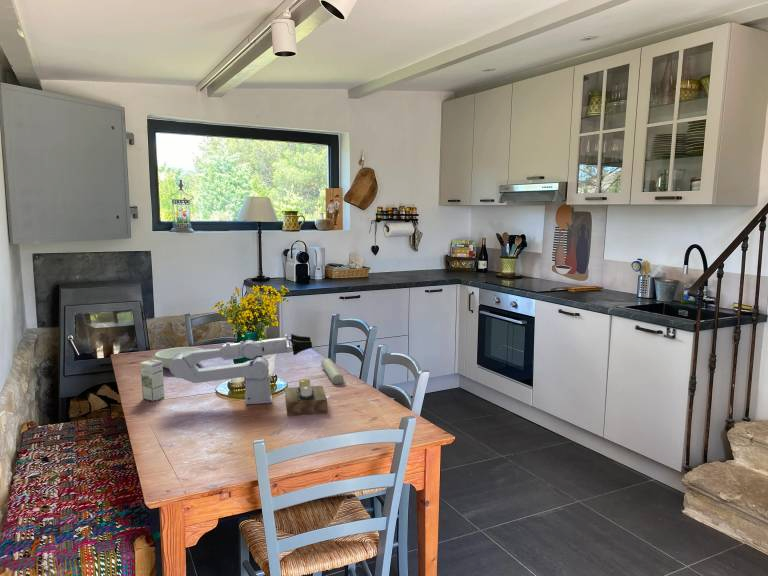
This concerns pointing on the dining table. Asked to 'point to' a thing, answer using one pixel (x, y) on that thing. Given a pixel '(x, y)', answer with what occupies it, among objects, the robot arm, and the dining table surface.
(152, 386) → the syrup box
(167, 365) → the serving bowl
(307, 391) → the steel peg
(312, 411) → the brown flat block
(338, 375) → the tube
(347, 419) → the dining table surface
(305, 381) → the brass peg
